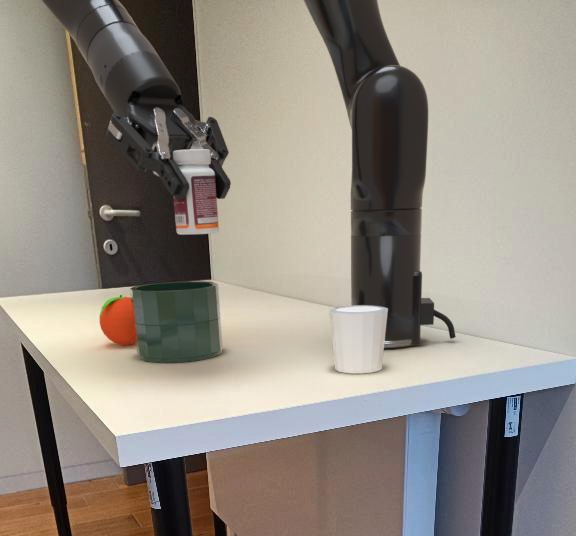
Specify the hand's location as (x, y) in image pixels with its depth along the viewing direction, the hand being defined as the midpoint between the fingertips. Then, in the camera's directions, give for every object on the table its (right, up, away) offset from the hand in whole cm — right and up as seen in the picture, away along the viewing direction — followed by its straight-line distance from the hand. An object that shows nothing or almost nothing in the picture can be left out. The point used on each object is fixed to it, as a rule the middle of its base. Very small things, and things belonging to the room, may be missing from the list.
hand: (204, 192), depth 81 cm
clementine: (-15, -10, +30) cm, 35 cm away
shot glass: (+17, -17, +9) cm, 26 cm away
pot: (-6, -13, +22) cm, 26 cm away
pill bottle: (-1, -3, +3) cm, 5 cm away
